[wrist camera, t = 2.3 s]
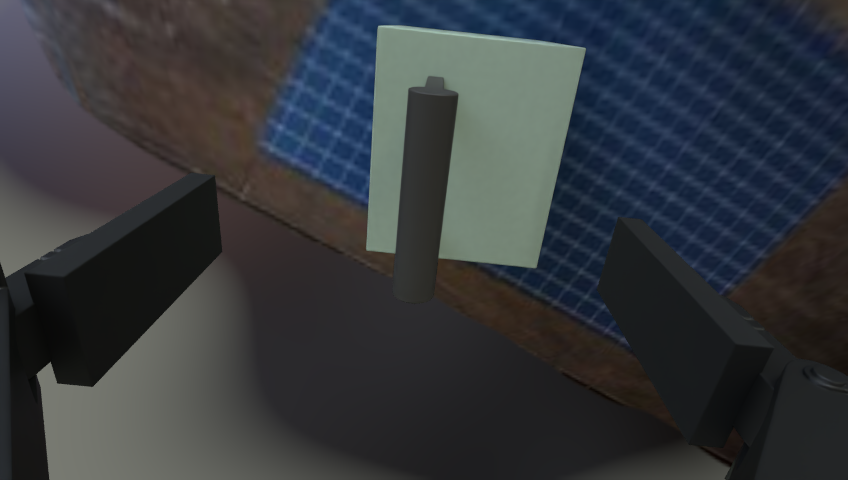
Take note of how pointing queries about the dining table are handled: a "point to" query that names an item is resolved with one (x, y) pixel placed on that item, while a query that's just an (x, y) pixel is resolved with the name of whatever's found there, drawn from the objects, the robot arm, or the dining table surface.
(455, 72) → the pale green square box
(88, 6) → the dining table surface
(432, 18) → the dining table surface
